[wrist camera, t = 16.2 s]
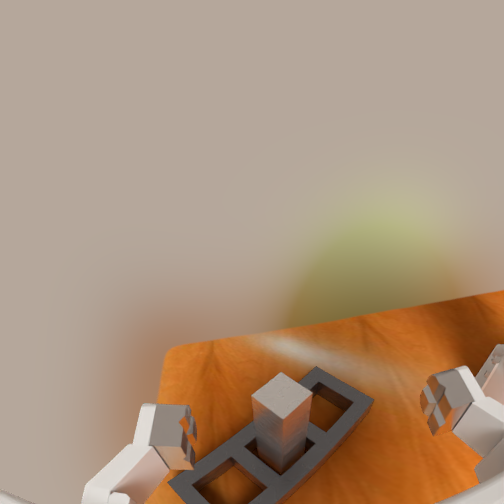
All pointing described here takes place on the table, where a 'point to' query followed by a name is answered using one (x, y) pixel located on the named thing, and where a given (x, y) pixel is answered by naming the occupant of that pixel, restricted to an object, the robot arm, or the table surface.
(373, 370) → the table surface
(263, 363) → the table surface
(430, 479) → the table surface
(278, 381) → the post
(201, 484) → the dark grey flat frame
